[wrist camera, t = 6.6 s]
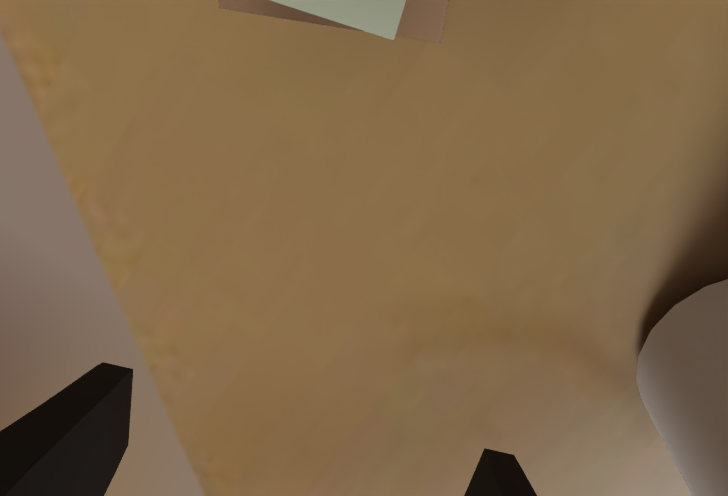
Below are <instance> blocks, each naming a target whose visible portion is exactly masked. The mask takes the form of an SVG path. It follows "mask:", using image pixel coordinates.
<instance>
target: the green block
mask: <svg viewBox="0 0 728 496" xmlns="http://www.w3.org/2000/svg"><path fill="white" fill-rule="evenodd" d="M270 1H273V2H276V3H280V4H283V5H286V6H289V7H292V8H295V9H298V10H301V11H304V12H307V13H310V14H313V15H317V16H320V17H323V18H326V19H329V20H332V21H335V22H338V23H341V24H344V25H347V26H351V27H354V28H357V29H360V30H363V31H366V32H369V33H372V34H375V35H378V36H381V37H384V38H388V39H391V40H394V38H395V35H396V32H397V28H398V25H399V22H400V19H401V15H402V12H403V9H404V6H405V2H406V0H270Z"/></svg>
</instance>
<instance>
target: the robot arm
mask: <svg viewBox="0 0 728 496" xmlns="http://www.w3.org/2000/svg"><path fill="white" fill-rule="evenodd" d="M132 378H133V369H130V368H125V367H121V366H117V365H112V364H108V363H101V364H100V365H97V366H96V367H94V368H93V369H91V370H90V371H89V372H87V373H86V374H84V375H83V376H81V377H80V378H79V379H77V380H76V381H75V382H73V383H72V384H70V385H69V386H67V387H66V388H64V389H63V390H62V391H60V392H59V393H57V394H56V395H55V396H53V397H52V398H50V399H49V400H47V401H46V402H44V403H43V404H41V405H40V406H38V407H37V408H35V409H34V410H32V411H31V412H29V413H28V414H26V415H25V416H23V417H22V418H20V419H18V420H17V421H15V422H14V423H12V424H11V425H9V426H8V427H6V428H5V429H3V430H2V431H0V496H104V494H105V493H106V491H107V488H108V486H109V484H110V482H111V480H112V478H113V476H114V474H115V472H116V470H117V468H118V465H119V463H120V461H121V459H122V457H123V455H124V453H125V450H126V448H127V446H128V438H129V423H130V409H131V394H132ZM464 496H537V495H536V493H535V491H534V490H533V488H532V486H531V484H530V482H529V481H528V479H527V477H526V475H525V474H524V472H523V470H522V468H521V467H520V465H519V463H518V461H517V460H516V458H515V456H514V455H511V454H507V453H502V452H498V451H494V450H489V449H484V451H483V453H482V456H481V458H480V460H479V463H478V465H477V467H476V470H475V472H474V474H473V477H472V479H471V481H470V484H469V486H468V488H467V491H466V493H465V495H464Z"/></svg>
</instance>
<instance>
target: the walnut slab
mask: <svg viewBox="0 0 728 496" xmlns="http://www.w3.org/2000/svg"><path fill="white" fill-rule="evenodd" d="M448 2H449V0H406V2H405V6H404V9H403V12H402V15H401V19H400V22H399V25H398V28H397V32H396V35H395V36H397V37H404V38H410V39H416V40H423V41H429V42H435V43H441V39H442V34H443V29H444V23H445V18H446V13H447V8H448ZM219 8H220V9H227V10H233V11H239V12H246V13H252V14H258V15H264V16H271V17H277V18H283V19H290V20H296V21H302V22H309V23H315V24H321V25H328V26H334V27H340V28H347V29H353V30H359V31H363V30H360V29H357V28H354V27H351V26H347V25H344V24H341V23H338V22H335V21H332V20H329V19H326V18H323V17H320V16H317V15H313V14H310V13H307V12H304V11H301V10H298V9H295V8H292V7H289V6H286V5H283V4H280V3H276V2H273V1H270V0H219Z"/></svg>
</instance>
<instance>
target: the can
mask: <svg viewBox="0 0 728 496" xmlns="http://www.w3.org/2000/svg"><path fill="white" fill-rule="evenodd" d="M636 382H637V385H638V388H639V391H640V394H641V397H642V400H643V403H644V406H645V407H646V409H647V411H648V413H649V415H650V417H651V419H652V421H653V423H654V425H655V426H656V428H657V430H658V432H659V434H660V436H661V438H662V440H663V442H664V444H665V445H666V447H667V449H668V451H669V453H670V455H671V457H672V459H673V461H674V463H675V464H676V466H677V468H678V470H679V472H680V474H681V476H682V478H683V480H684V481H685V483H686V485H687V487H688V489H689V491H690V493H691V495H692V496H728V279H727V280H724V281H721V282H717V283H714V284H711V285H708V286H705V287H704V288H702V289H700V290H699V291H697V292H696V293H694V294H692V295H691V296H689V297H687V298H686V299H684V300H682V301H681V302H679V303H678V304H676V305H674V306H673V307H672V309H671V310H670V311H669V312H668V313H667V314H666V315H665V316H664V317H663V318H662V319H661V320H660V321H659V322H658V323H657V324H656V325H655V326H654V327H653V328H652V329H651V331H650V333H649V335H648V337H647V339H646V341H645V343H644V346H643V348H642V350H641V352H640V354H639V356H638V366H637V377H636Z"/></svg>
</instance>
